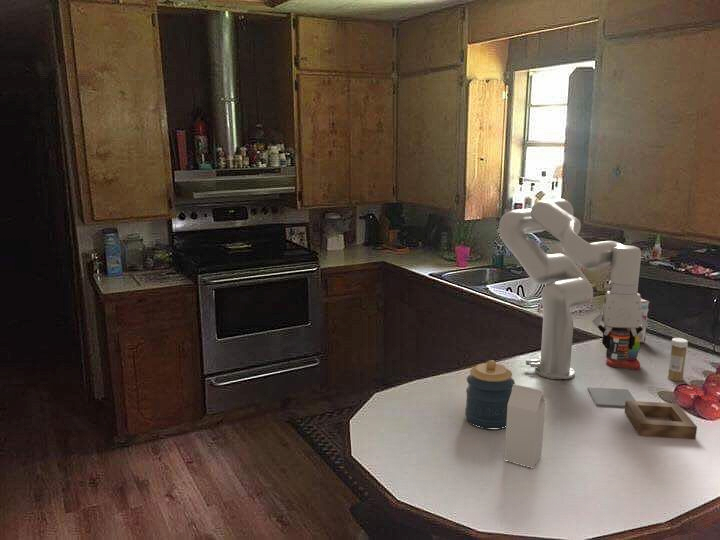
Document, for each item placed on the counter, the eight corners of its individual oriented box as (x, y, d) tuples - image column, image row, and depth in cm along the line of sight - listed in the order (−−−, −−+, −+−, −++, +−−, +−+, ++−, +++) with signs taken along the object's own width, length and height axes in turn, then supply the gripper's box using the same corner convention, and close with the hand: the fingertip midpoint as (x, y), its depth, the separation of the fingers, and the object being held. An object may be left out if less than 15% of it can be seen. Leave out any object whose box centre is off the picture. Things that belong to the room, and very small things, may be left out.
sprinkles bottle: (685, 379, 198) (690, 340, 195) (678, 382, 195) (683, 343, 192) (672, 375, 201) (676, 336, 198) (664, 378, 199) (669, 339, 196)
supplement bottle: (617, 364, 177) (621, 327, 175) (601, 358, 183) (604, 322, 180) (632, 361, 180) (635, 324, 178) (615, 354, 185) (618, 319, 183)
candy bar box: (645, 342, 232) (650, 301, 228) (634, 344, 231) (638, 302, 227) (626, 333, 242) (630, 293, 239) (615, 334, 241) (619, 294, 237)
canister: (469, 406, 179) (471, 349, 175) (514, 413, 175) (518, 355, 171) (461, 426, 167) (463, 366, 163) (509, 434, 163) (513, 372, 159)
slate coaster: (596, 405, 179) (596, 404, 179) (587, 389, 191) (587, 387, 191) (639, 408, 178) (639, 406, 177) (627, 391, 189) (627, 389, 189)
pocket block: (639, 435, 162) (640, 423, 161) (624, 411, 175) (625, 400, 175) (695, 439, 160) (697, 426, 159) (676, 414, 174) (677, 403, 173)
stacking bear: (605, 366, 209) (610, 316, 205) (606, 356, 218) (611, 308, 214) (640, 370, 205) (645, 320, 201) (639, 360, 214) (644, 311, 210)
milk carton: (532, 469, 146) (538, 396, 142) (504, 461, 150) (508, 389, 145) (541, 456, 152) (546, 385, 148) (513, 448, 155) (517, 379, 151)
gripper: (595, 290, 174) (590, 350, 178) (659, 292, 172) (652, 353, 176) (589, 284, 181) (584, 341, 185) (650, 286, 179) (644, 344, 183)
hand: (617, 346), depth 180 cm, fingers closed on supplement bottle, 6 cm apart
